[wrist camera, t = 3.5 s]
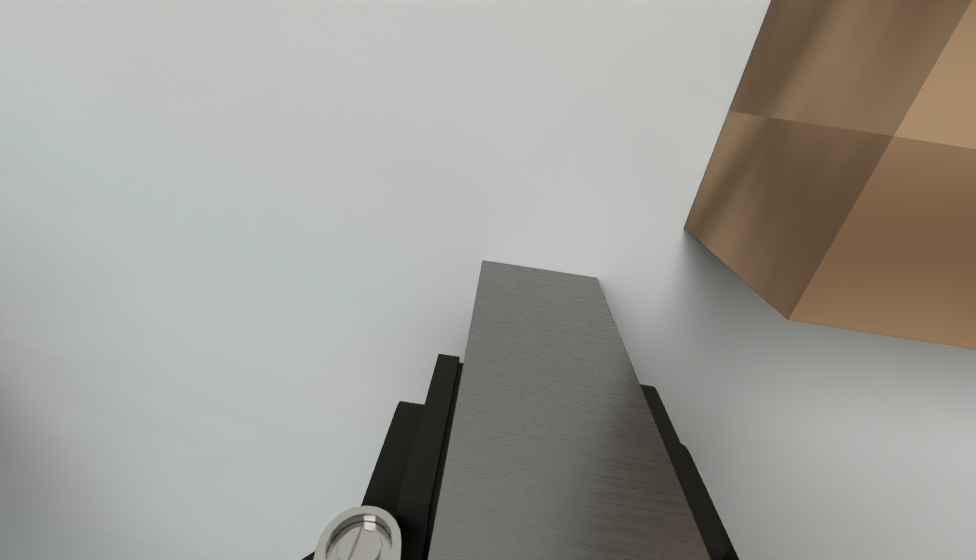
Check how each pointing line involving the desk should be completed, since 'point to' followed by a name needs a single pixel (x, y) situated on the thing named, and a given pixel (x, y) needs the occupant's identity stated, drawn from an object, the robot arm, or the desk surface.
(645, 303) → the desk surface
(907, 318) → the block
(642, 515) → the grey brushed prism
